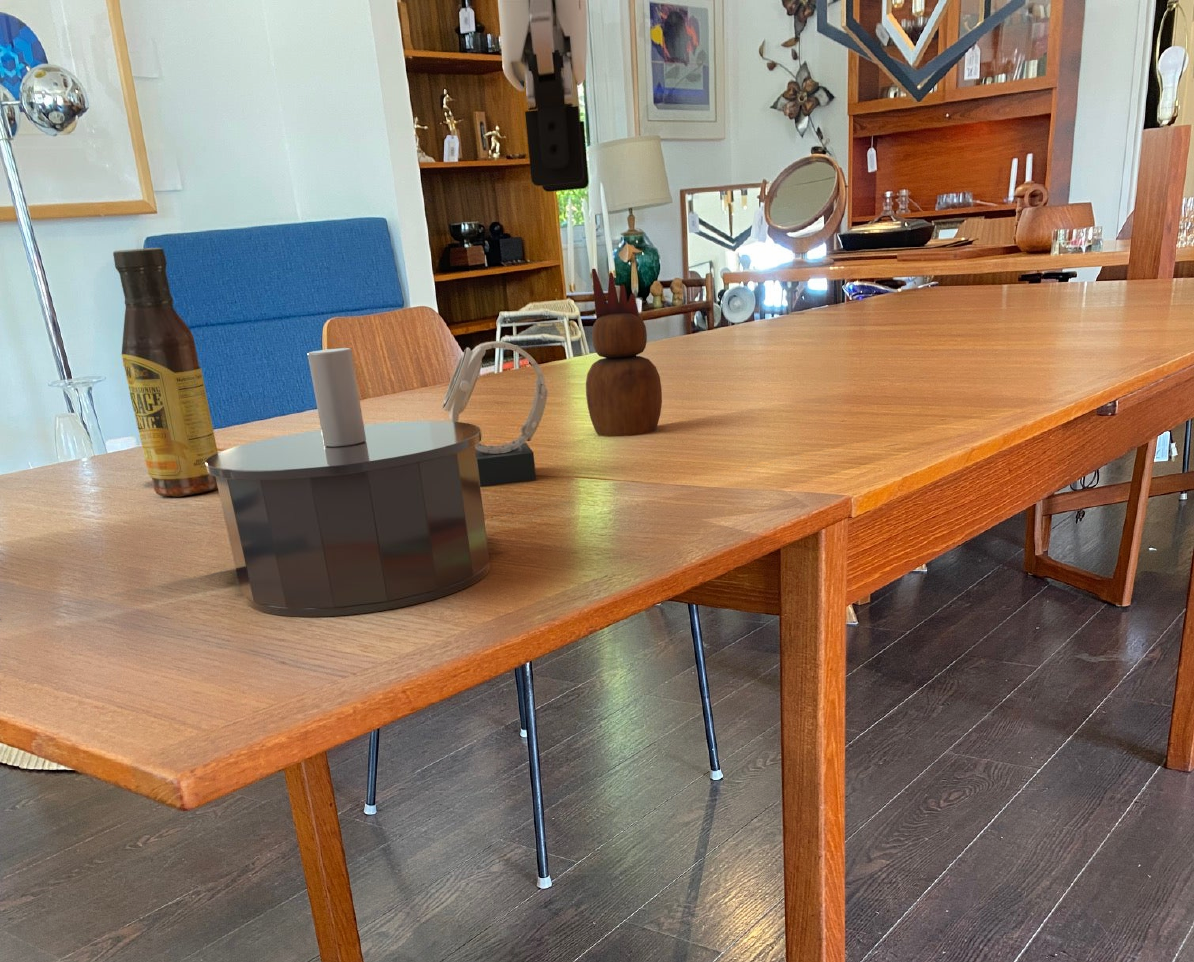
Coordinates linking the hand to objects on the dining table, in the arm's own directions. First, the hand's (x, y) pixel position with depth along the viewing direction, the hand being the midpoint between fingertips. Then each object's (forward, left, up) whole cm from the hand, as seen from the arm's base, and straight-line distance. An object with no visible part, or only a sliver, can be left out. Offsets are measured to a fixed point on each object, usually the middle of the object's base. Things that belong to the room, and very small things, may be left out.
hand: (562, 186), depth 76 cm
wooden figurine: (+16, +21, -21) cm, 33 cm away
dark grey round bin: (-20, -8, -21) cm, 30 cm away
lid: (-20, -8, -13) cm, 25 cm away
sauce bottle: (-21, +36, -21) cm, 46 cm away
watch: (-2, +10, -21) cm, 23 cm away
